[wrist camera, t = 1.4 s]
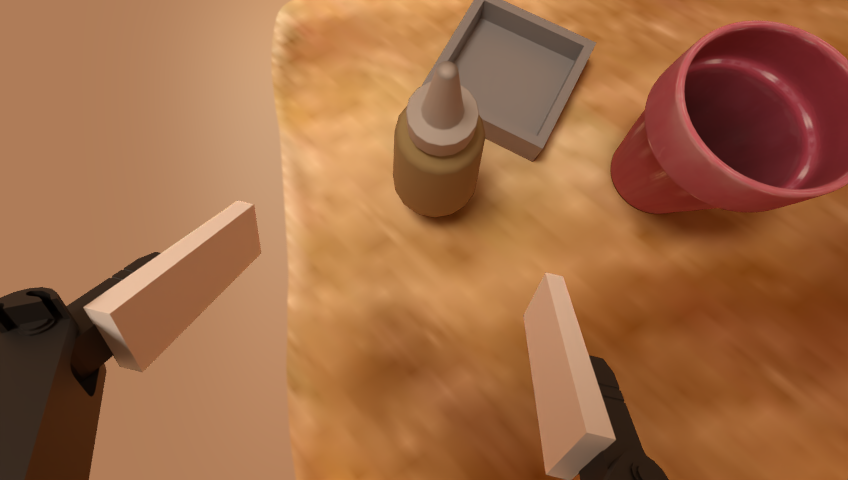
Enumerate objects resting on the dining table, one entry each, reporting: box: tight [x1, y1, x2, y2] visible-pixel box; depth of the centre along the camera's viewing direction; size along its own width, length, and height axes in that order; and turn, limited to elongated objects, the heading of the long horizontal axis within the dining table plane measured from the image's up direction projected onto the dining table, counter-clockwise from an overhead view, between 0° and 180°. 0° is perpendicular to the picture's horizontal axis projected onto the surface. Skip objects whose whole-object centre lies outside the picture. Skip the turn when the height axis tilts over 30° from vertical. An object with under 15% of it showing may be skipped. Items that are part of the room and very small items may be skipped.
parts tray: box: [422, 0, 596, 162], centre depth 35 cm, size 14×14×3 cm
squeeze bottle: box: [393, 61, 485, 217], centre depth 25 cm, size 8×8×18 cm
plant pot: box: [611, 21, 848, 214], centre depth 29 cm, size 14×14×13 cm
